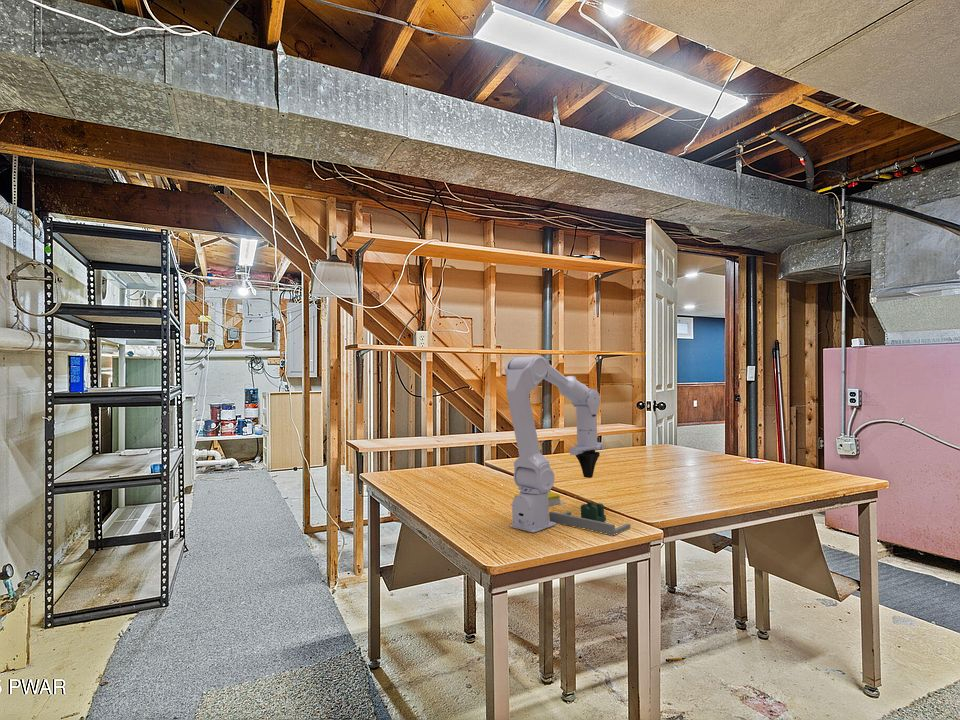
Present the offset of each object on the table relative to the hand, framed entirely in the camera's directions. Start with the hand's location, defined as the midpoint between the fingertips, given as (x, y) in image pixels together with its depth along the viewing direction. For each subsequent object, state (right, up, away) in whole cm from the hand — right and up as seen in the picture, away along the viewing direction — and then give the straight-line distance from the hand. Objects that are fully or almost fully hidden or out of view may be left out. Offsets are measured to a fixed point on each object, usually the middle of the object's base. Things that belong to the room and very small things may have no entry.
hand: (588, 477), depth 147 cm
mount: (-2, -9, -13) cm, 16 cm away
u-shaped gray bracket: (-3, -9, -14) cm, 17 cm away
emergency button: (-13, -11, +8) cm, 19 cm away
